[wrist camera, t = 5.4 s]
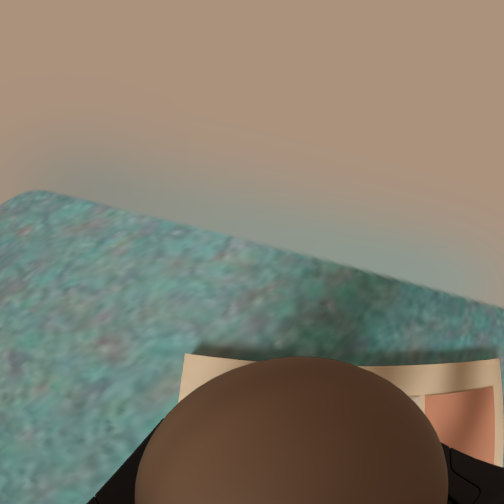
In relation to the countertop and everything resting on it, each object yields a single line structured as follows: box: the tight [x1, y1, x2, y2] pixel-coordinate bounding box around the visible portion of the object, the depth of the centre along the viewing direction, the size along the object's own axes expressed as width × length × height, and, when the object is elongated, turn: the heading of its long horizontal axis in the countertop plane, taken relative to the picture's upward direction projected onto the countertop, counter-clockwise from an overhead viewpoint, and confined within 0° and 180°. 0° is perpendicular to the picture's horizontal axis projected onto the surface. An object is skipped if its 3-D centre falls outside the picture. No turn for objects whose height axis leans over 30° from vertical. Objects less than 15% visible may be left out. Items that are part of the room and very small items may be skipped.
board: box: [178, 354, 504, 467], centre depth 14 cm, size 21×10×1 cm, turn 85°
